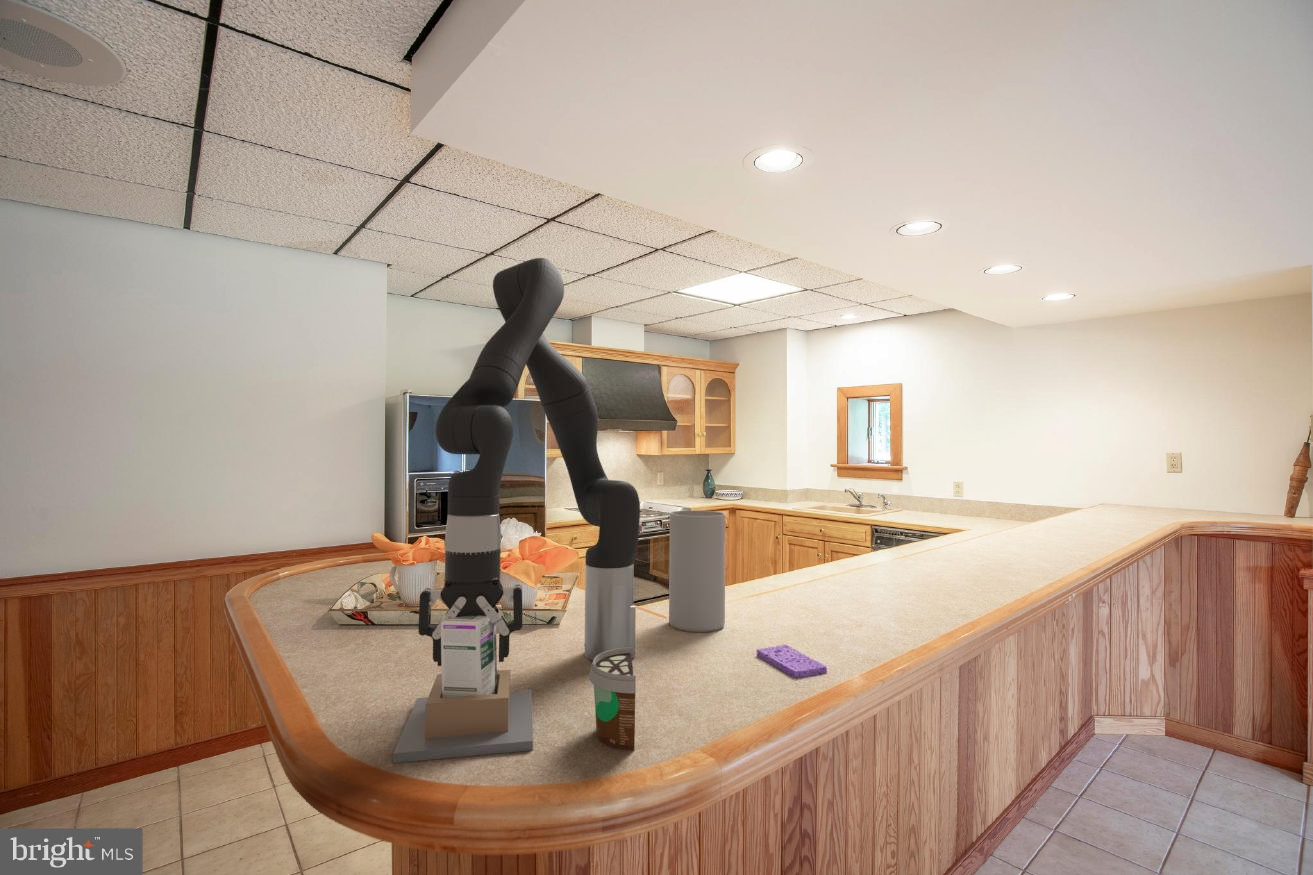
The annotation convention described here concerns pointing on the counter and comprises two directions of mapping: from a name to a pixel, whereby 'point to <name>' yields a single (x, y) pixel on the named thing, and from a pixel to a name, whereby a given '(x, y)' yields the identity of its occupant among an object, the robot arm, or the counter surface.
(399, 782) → the counter surface
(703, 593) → the cylinder vase
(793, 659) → the sponges
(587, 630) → the robot arm
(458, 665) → the syrup box
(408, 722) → the socket holder
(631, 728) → the food container
